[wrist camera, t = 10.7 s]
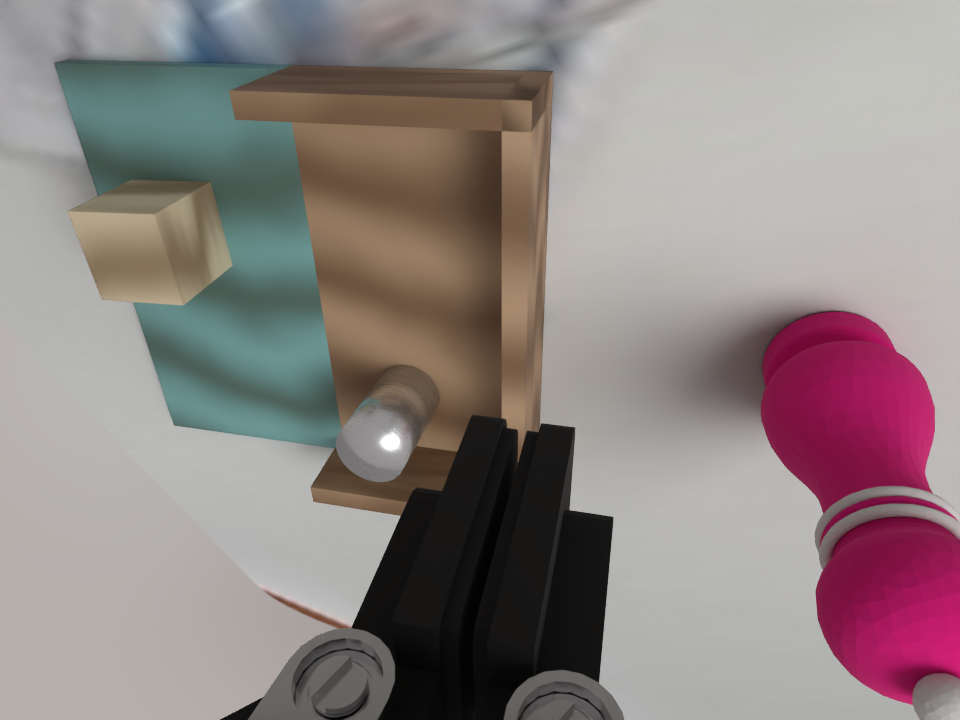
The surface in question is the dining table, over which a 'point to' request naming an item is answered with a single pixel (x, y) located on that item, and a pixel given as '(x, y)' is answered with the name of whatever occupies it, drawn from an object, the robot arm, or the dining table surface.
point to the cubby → (341, 244)
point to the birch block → (153, 240)
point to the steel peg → (388, 424)
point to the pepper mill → (871, 505)
